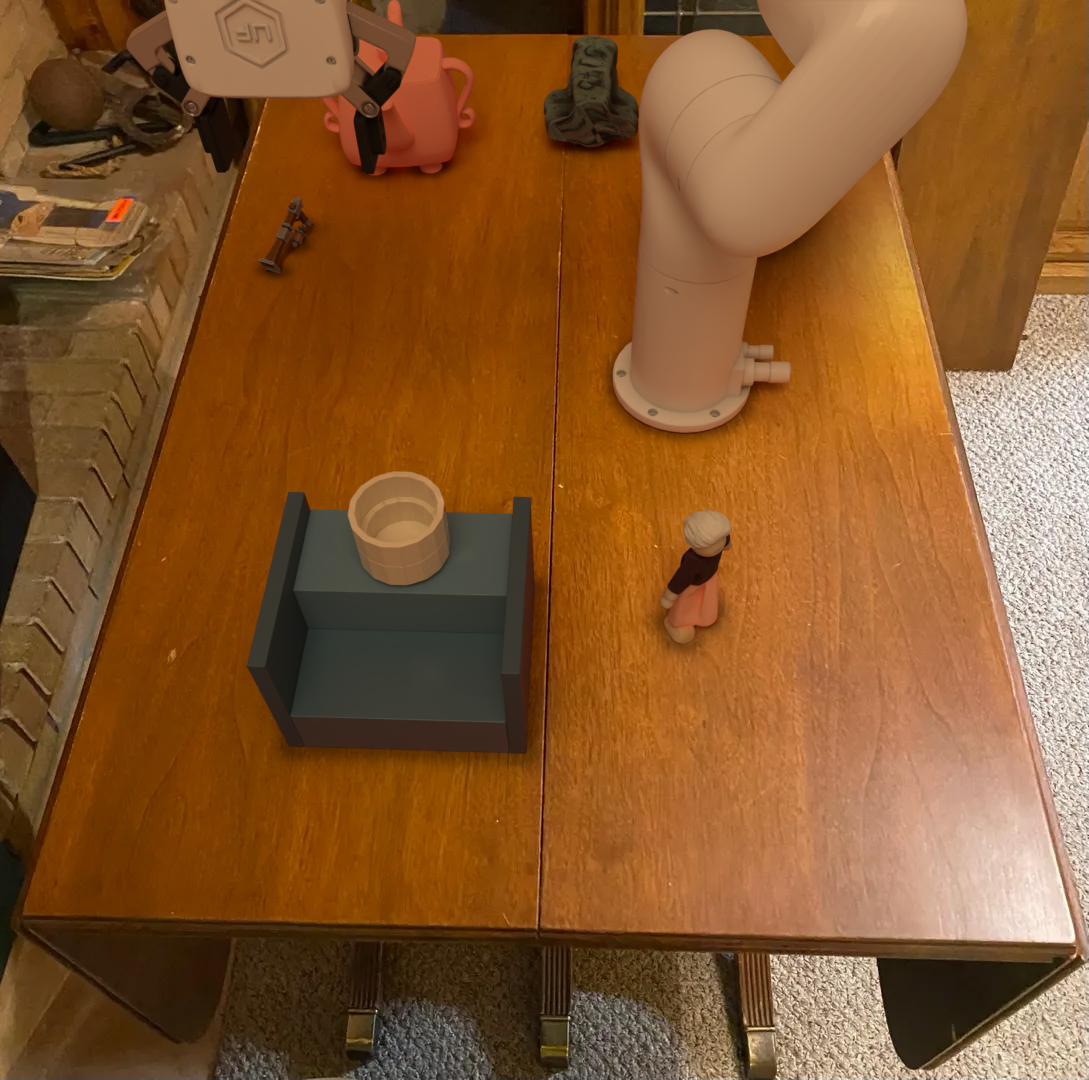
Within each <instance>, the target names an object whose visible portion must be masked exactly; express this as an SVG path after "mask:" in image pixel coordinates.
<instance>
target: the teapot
mask: <svg viewBox="0 0 1089 1080" xmlns="http://www.w3.org/2000/svg"><path fill="white" fill-rule="evenodd" d="M401 8H402V7H401V4H400V2H399V1H398V0H390V1H389V2H388V5H387V10H386V11H387V12H386V13H387V20H389V21H391V22H393V23H395V24H397V25H399V26H402V27H404V23H403V17H402V9H401ZM359 45H360V47H359V53H358V55H357V56H358V57H359V58H360V59H361V60H362V61H363V62H364V63H365V64H366V65H367V66H368V67H369V68H370V69H371V70H373V71H374V72H375V73H376V72H377V71H378V69H379V68H380V67H381V66H382V65H383V64H384V63H385V61H386V60H387V58H388V56H387V54H386V52H385V51H383V50H382V49H380V48H378V47H375V46H373V45H371V44H369V43H367V42H365V41H363V40H361V39H359ZM452 70H453V71H457V72H459V73H461V74H462V75H463V76H464V77H465V79H464V80H465V82H464V85H463V89H462V91H461V93H460V95H459V97H458V96H457V90H456V85H455V81H454V76H453V73H452ZM474 81H475V77H474V72H473V70H472V68H471V67H470V66H469V65H468V63H467V62H465V61H464V60H462V59H459V58H457V57H447V55H446V52H445V49H444V47H443V44H442V42H441V40H439V39H438V38H436V37H431V36H416V43H415V48H414V52H413V55H412V57H411V60H410V62H409V65H408V67H407V70H406V72H405V74H404V76H403V79H402V81H401V85H400V87H399V88H398V89H397V91H396V92H395V93H394V94H393V95H392V96H391V97H390V98H389V99H388V100H387V101H386V103H385V104H384V105H383V106H382V107H381V108H382V114H383V120H384V127H385V133H386V142H387V145H386V152H385V155H378V159H377V164H376V168H375V172H374V174H368V175H369V176H380V175H382V174H384V173H386V172H387V170H388V168H411V167H419V170H420V171H421V172H422V173H426V174H435V173H438V172H440V170H442V168H443V164H442V163H446V162H448V161H451V159H453V157H454V153H455V151H456V147H457V143H458V136H459V129H462V130H465V129H470V128H471V127H472V126H473V125H474V124H475V122H476V117H477V116H476V112H475V110H474V109H473V108H472V107H470V106H466V105H467V103H468V101H469V99H470V98H471V97H470V96H471V94H472V91H473V89H474V83H475V82H474ZM457 97H458V98H457ZM320 99H321V101H322V102H323V104H324V105H325V107H326V108H327V109H328V111H327V112H326V113H325V115H324V118H323V123H324V127H325V128H326V130H327V131H329V132H331V133H333V134H339V139H340V143H341V144H340V145H341V147H342V150H343V153H344V154H345V156H346V158H347V160H348V161H349V162H350V164H352V165H355V166H359V167H361V161H360V156H359V150H358V145H357V140H356V134H355V129H354V116H355V112H356V108H355V107H354V106H353V105H352V104H350V103H349V102H348V101H347V100H346V99H345V98H344V97H343V96H342V95H338V102H337V101H336V100H335V99H334V97H330V98H320ZM462 115H467V116H468V117H462ZM332 118H335V120H336V121H333V120H332Z"/></svg>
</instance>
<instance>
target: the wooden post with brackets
mask: <svg viewBox="0 0 1089 1080" xmlns="http://www.w3.org/2000/svg"><path fill="white" fill-rule="evenodd" d="M303 208H304V204H303V198H302V197H300V196H296V197H295V198H294V199H293V198H291V202H289V205H288V208H287V210H286V212H287V214H286V216H285V219H284V220H283V221H281V223H280V226H279V228H278V231H277V233H276V235H275V237H274V238H275V241H274V243H273V244H272V246H271V248H270V249H269V250H268V252H267V254H266V255H265V257H264V258H262V257H259V259H258V261H257V262H258V263H259V264H260V265H261V266H262V267H263V268H264V269H265V270H267V271H269V272H270V271H271V272H273V273H277V274H281V271H282V268H280V267H279V266H280V261H281V258H282V254H283V251H284V248H285V246H286V244H288V241H289V240H290V241H291V246H292V248H297V247H298V246H302V243H303V239H304V238H307V236H306V234H305V233H304V232H306V229H305V227H306V228H309V229H313V226H314V223H313V222H312V219H310V217H309V216H307V215H306V214H305V212H304V211H303ZM297 222H300V223H301V226H298V229H295V228H294V225H295V223H297ZM292 232H293V235H292ZM291 236H292V237H291Z"/></svg>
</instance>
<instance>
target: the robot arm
mask: <svg viewBox="0 0 1089 1080" xmlns="http://www.w3.org/2000/svg"><path fill="white" fill-rule="evenodd" d="M163 1H164V6H165V10H163V11H161V12H160V13H158V14H157V15H154V17H151V18H150V19H148V20H147V21H146V22H144V23H142V24H140V25H138V26H137V27H136V28H134V29H133V30H132V31H131V33H130V34H129V36H128V38H127V40H126V43H125V47H126V50H127V51H128V52H129V54H130V55H132V57H133V58H134V59H135V61H136V62H137V63H138V64H139V65H140V66H141V67H142V68H143V69H144V71H146V72H148V73H149V74H150V76H151V80H152V82H153V83H154V85H155V86H157V87H158V88H159V89H161V90H162V91H163V92H165V93H166V94H167V95H169V96H170V97H171V98H173V99H174V100H176V101H177V102H178V103H180V105H181V109H182V111H183V112H184V114H186V115H188V116H189V117H193V120H194V123H195V126H196V130H197V133H198V136H199V138H200V142H201V144H202V148H203V151H204V153H206V154H210V156H211V159H212V163H213V165H214V168H215V169H214V170H215V171H216V173H218V174H221V173H223V174H225V173H227V172H228V171H229V170H230V168H231V165H232V163H233V160H234V157H235V154H236V152H237V149H238V141H237V140H236V139H237V138H236V135H235V132H234V128H233V125H232V122H231V121H232V120H231V118H230V115H229V110H228V107H227V104H226V100H225V99H274V100H275V99H279V100H281V99H283V100H284V99H286V100H288V99H292V100H294V99H296V100H297V99H302V100H303V99H304V100H305V99H307V100H308V99H311V100H313V99H321V98H330V97H332V98H334V97H335V98H336V97H339V95H342V96H343V97H344V98H345V99H346V100H347V101H348V102H349V103H350V104H352V105H353V106H354V107H355V108H356V112H355V116H354V129H355V134H356V140H357V145H358V150H359V156H360V161H361V166H360V167H361V171H362V172H363V173H365V175H369V174H374V172H375V168H376V164H377V159H378V155H385V152H386V145H387V142H386V133H385V127H384V120H383V114H382V108H381V107H382V106H383V105H384V104H385V103H386V101H387V100H388V99H389V98H390V97H391V96H392V95H393V94H394V93H395V92H396V91H397V89H398V88H399V87H400V85H401V81H402V79H403V76H404V74H405V72H406V70H407V67H408V65H409V62H410V60H411V57H412V55H413V52H414V48H415V43H416V37H417V36H416V34H415V33H414V32H413V31H412V30H410V29H408V28H405V27H404V26H403V27H402V26H399V25H397V24H395V23H393V22H391V21H389V20H388V18H385V17H383V16H381V15H379V14H377V13H375V12H372V11H371V10H369V9H366V8H365V7H363V6H361V5H359V4H356V3H354V2H353V0H163ZM756 3H757V7H758V10H759V13H760V15H761V17H762V19H763V21H764V23H765V25H766V27H767V28H768V30H769V32H770V33H771V35H772V37H773V38H774V40H775V41H776V42H777V44H778V45H779V47H780V49H781V50H782V51H783V53H784V54H785V56H786V57H787V58H788V59H789V61H790V63H791V64H792V65H793V66H794V67H793V69H791V71H790V73H788V75H787V76H786V77H785V79H784V80H782V79H781V77H780V75H779V73H778V72H777V71H776V70H775V69H774V66H772V64H771V63H770V61H768V60H767V58H766V57H765V56H764V55H763V53H762V52H761V51H760V50H759V49H758V48H757V47H755V45H753V44H752V43H751V42H750V41H748V40H747V39H745V38H743V37H742V36H740V35H739V34H736V33H734V32H731V31H728V30H724V29H715V28H712V29H711V28H710V29H709V28H708V29H701V30H696V31H693V32H690V33H688V34H684V36H681V37H680V38H678V39H676V40H675V41H674V42H672V43H671V44H670V45H669V46H667V48H665V49H664V51H662V53H661V54H660V55H659V56H658V58H657V59H656V60H655V61H654V63H653V65H652V66H651V68H650V70H649V73H648V74H647V76H646V79H645V82H644V84H643V88H642V92H641V94H640V95H641V96H640V101H639V107H638V108H639V118H638V144H639V145H638V147H639V158H640V159H639V160H640V174H641V175H640V176H641V177H640V178H641V179H640V180H641V204H640V205H641V206H640V207H641V208H640V209H641V210H640V226H639V227H640V228H639V241H638V249H637V250H638V251H637V267H636V281H635V292H634V293H635V294H634V308H633V321H632V322H633V323H632V336H631V341H630V342H628V343H627V344H626V345H624V346H623V348H622V349H621V351H620V352H619V353H618V355H617V357H616V359H615V361H614V364H613V367H612V368H613V369H612V386H613V392H614V395H615V396H616V399H617V401H618V403H620V405H621V406H622V408H623V409H624V410H625V411H626V412H627V413H628V414H630V415H631V416H632V417H633V418H635V419H636V420H638V421H640V422H642V424H645V425H647V426H650V427H653V428H655V429H658V430H662V431H667V432H670V433H671V432H672V433H683V434H684V433H686V434H687V433H698V432H699V433H700V432H704V431H708V430H713V429H715V428H717V427H720V426H722V425H724V424H726V423H727V422H730V421H731V420H732V419H733V418H735V417H736V416H737V415H738V414H739V413H740V412H741V411H742V409H743V408H744V407H745V405H746V403H747V400H748V398H749V395H750V393H751V392H750V391H751V387H752V386H753V385H754V382H762V383H763V382H767V383H768V384H789V382H790V379H791V362H790V361H786V360H785V361H783V360H781V361H780V360H777V361H776V360H773V359H774V354H775V347H774V344H757V345H755V344H753V345H752V344H751V345H750V344H748V342H747V341H743V337H744V330H745V325H746V319H747V315H748V308H749V305H750V298H751V293H752V288H753V283H754V279H755V278H754V277H755V273H756V272H755V271H756V266H757V261H758V258H761V257H764V256H767V255H770V254H773V253H775V252H778V251H780V250H782V249H783V248H785V247H788V246H789V245H791V244H792V243H793V242H795V241H796V240H798V239H799V238H801V236H804V235H805V234H806V233H807V232H808V231H809V230H810V229H811V228H813V227H814V226H815V225H816V224H817V223H819V221H821V220H822V219H823V218H824V217H825V216H826V215H827V213H829V212H830V211H831V209H833V207H835V206H836V204H838V203H839V202H840V201H841V200H842V199H843V198H844V196H846V195H847V194H848V193H849V192H850V191H851V190H852V188H854V187H855V185H857V184H858V183H859V182H860V180H862V178H864V176H865V175H866V174H868V173H869V171H871V169H872V168H873V167H874V166H875V165H877V163H878V162H879V161H881V160H882V159H883V157H884V156H885V155H886V154H888V152H889V151H890V150H891V149H892V148H893V147H894V146H896V145H897V144H898V142H899V141H900V140H901V139H902V138H903V137H905V135H906V134H907V133H908V132H909V131H910V130H911V129H912V128H913V127H914V126H915V125H916V124H917V123H918V122H919V121H920V119H921V118H922V117H924V115H925V114H926V113H927V112H928V111H929V110H930V108H932V106H933V105H934V104H935V103H936V101H937V100H938V99H939V98H940V96H941V94H942V93H943V91H944V90H945V89H946V87H947V85H948V84H949V82H950V80H951V79H952V76H953V75H954V73H955V71H956V69H957V66H958V65H959V62H960V60H961V57H962V54H963V51H964V49H965V44H966V39H967V34H968V13H967V11H968V10H967V7H966V2H965V0H756ZM360 39H361V40H363V41H365V42H367V43H369V44H371V45H373V46H375V47H378V48H380V49H382V50H383V51H385V52H386V54H387V56H388V58H387V60H386V61H385V63H384V64H383V65H382V66H381V67H380V68H379V69H378V71H377V72H376V73H375V72H374V71H373V70H371V69H370V68H369V67H368V66H367V65H366V64H365V63H364V62H363V61H362V60H361V59H360V58H359V57H358V56H357V55H358V53H359V47H360V45H359V40H360ZM171 41H173V44H174V48H175V53H176V55H177V59H178V61H177V60H175V59H174V58H172V57H171V56H168V55H167V52H166V51H165V50H164V48H163V46H165V45H167V44H168V43H170V42H171ZM755 360H757V361H755ZM763 360H764V361H766V362H763Z"/></svg>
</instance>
